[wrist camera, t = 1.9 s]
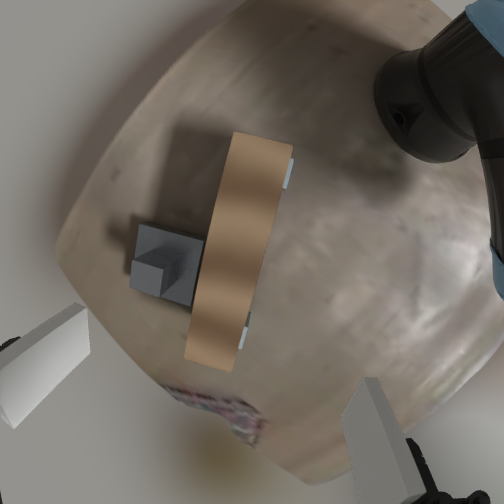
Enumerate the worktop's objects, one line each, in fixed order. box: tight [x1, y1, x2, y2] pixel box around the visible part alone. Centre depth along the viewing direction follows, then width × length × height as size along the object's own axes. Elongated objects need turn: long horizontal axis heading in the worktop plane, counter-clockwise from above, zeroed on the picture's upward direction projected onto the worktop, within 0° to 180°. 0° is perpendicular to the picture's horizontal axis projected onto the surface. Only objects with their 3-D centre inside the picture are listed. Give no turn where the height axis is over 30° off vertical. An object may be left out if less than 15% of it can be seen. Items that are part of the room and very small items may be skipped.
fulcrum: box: [129, 222, 207, 307], centre depth 29 cm, size 8×8×7 cm
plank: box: [184, 132, 293, 372], centre depth 25 cm, size 22×5×4 cm, turn 166°
